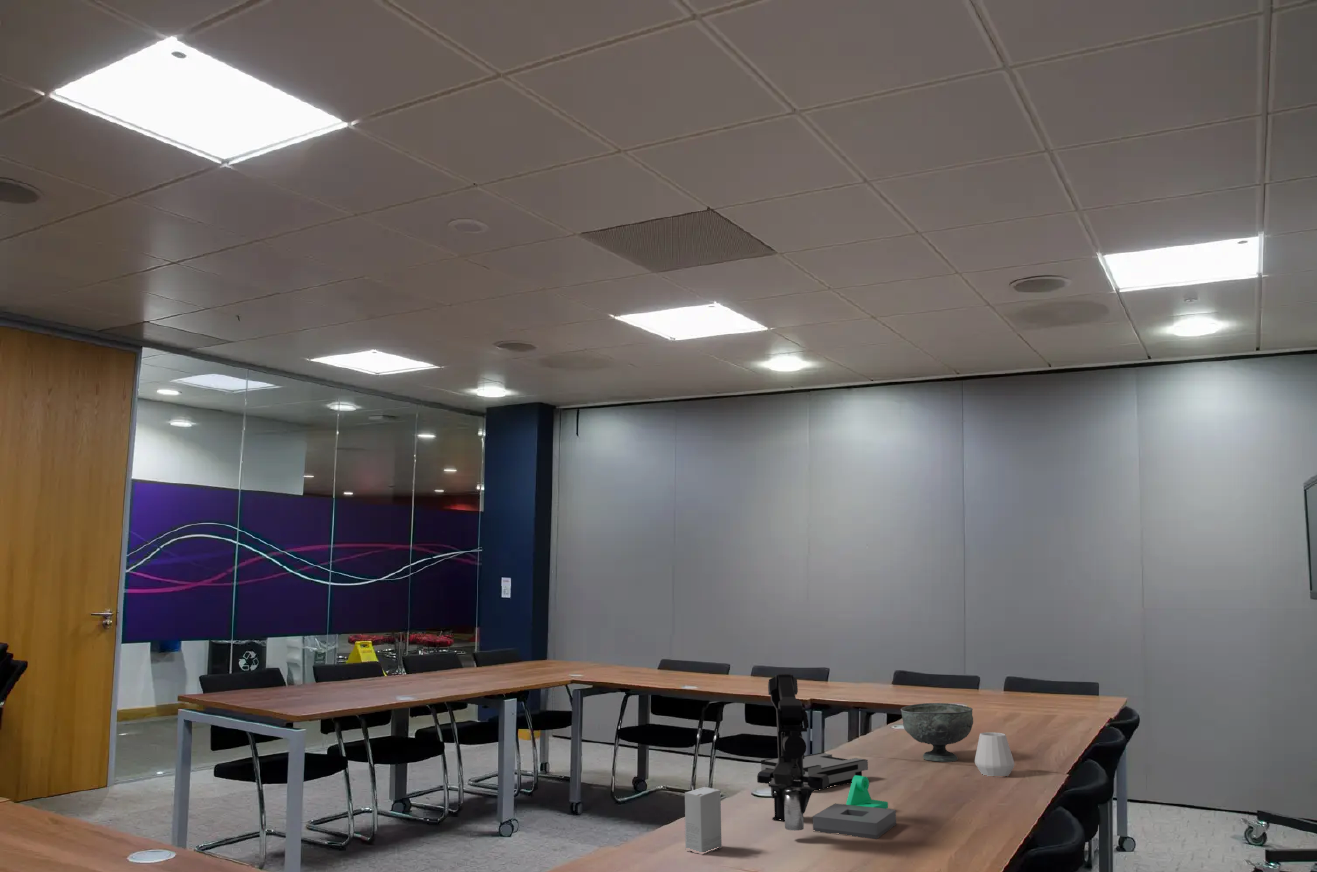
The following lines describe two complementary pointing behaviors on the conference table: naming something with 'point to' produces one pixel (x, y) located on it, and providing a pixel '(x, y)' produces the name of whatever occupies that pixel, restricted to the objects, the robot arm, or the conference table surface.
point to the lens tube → (793, 808)
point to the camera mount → (862, 794)
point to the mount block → (855, 820)
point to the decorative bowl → (938, 726)
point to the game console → (827, 767)
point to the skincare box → (703, 819)
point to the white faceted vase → (994, 755)
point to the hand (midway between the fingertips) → (793, 812)
